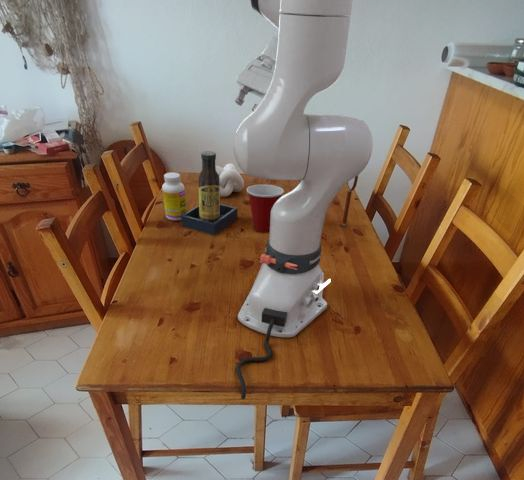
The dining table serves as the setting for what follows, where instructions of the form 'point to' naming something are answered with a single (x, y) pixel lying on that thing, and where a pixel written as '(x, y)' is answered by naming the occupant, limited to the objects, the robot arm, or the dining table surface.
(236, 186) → the white knot sculpture
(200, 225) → the tray
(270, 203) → the plastic cup
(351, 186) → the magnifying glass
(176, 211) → the supplement bottle
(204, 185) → the sauce bottle
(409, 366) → the dining table surface
